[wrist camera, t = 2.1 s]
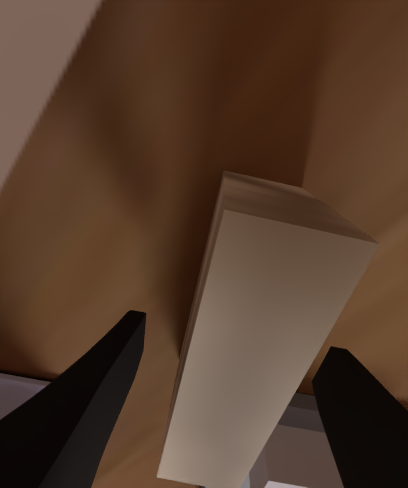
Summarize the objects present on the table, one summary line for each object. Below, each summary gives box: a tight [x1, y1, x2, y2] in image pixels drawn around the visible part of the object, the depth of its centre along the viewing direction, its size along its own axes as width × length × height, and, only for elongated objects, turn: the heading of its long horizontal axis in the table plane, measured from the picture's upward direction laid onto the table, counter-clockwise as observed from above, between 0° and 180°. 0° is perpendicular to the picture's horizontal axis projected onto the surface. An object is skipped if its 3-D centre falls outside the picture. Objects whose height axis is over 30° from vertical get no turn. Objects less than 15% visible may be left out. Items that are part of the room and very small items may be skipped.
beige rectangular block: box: [157, 170, 380, 488], centre depth 11 cm, size 4×12×6 cm, turn 168°
